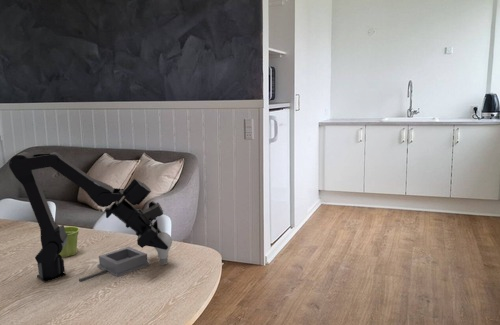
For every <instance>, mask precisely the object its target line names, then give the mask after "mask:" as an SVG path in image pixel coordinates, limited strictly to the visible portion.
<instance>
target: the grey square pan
mask: <svg viewBox="0 0 500 325" xmlns="http://www.w3.org/2000/svg"><path fill="white" fill-rule="evenodd" d="M150 265H151V263H150V262H149V261H148V254H147V253H145V252H142V251H141V250H138V249H135V248H133V247H130V246H126V247H123V248H120V249H116V250H114V251H113V250H112V251H111V252H107V253H104V254H101V255H98V264H97V268H99V269H100V270H101V271H99V272H96V273H92V274H90V275H87V276H84V277H82V278H78V282H80V283H81V282H85V281H87V280H89V279H93V278H95V277H98V276H101V275H103V274H107V273H108V274H109V275H112V276H114V277H116V278H119V277H121V276H124V275H126V274H130V273H133V272H134V271H138V270H140V269H143V268H146V267H148V266H150Z"/></svg>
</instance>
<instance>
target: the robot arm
mask: <svg viewBox="0 0 500 325" xmlns="http://www.w3.org/2000/svg"><path fill="white" fill-rule="evenodd" d="M8 167H9V169H10V171H11V173H12V174H13V176H14V177H15V179H16V180H17V181H18V182H19V183H20V184H21V185H22V186H23V189H24V191H25V193H26V196H27V199H28V201H29V204H30V207H31V210H32V211H33V212H32V213H33V214H34V216H35V218H36V222H37V224H38V226H39V227H38V228H39V230H40V243H41V249H40V250H39V251H38V252H37V254H36V255H35V257H34V259H35V260H36V262H37V271H38V272H37V273H38V274H37V275H36V277H37V278H38V279H39V280H41V281H42V282H44V283H48V282H51V281H54V280H57V279H59V278H63V277H65V276H66V275H67V274H66V273H65V271H66V270H65V260H64V259H63V257H62V256H61V255H59V253H60V252H61V251H62V250H63V248H64V246H65V244H66V242H67V237H68V235H67V234H66V232H65V228H64V227H65V225H64V224H62V225H58V224H57V223H56V221H55V219H54V216H53V213H52V211H51V209H50V206H49V203H48V200H47V198H46V196H45V193H44V190H43V188H42V185H41V182H40V181H39V170H40V169H45V168H52V169H53V170H55V171H56V172H57V173H59V174H61V175H62V176H64V177H65V178H66V179H68V180H69V181H71V182H72V183H73V184H75V185H76V186H78V187H79V188H80V189H82V190H83V191H84V192H85V193H86V194H87V195H88V197H89V198H90V200H92V201H93V202H94V203H95V204H96V205H97V206H99V207H101V208H105V209H104V211H105V218H106V219H108V218H109V217H110V216H111V215H114V217H116V218H117V219H118V220H119V221H121V222H123V223H124V224H125V227H126V229H129V228H130V229H131V230H132V231H134V232H135V235H136V236H137V240H136V241H137V246H139V247H140V248H142V249H143V248H144V247H151V248H154V249H155V248H160V249H164V250H167V249H168V246H167V245H166V244H165V243H164V242H163V241H162V239H161V238H160V237H159V236H158V233H160V232H162V231H161V229H160V228H159V226H158V225H159V224H158V219H157V218H158V217H161V216H163V215H164V210H163V208H162V206H161V205H160V203H159V202H155V201H153V200H151V201H150V202H148V207H146V209H144V210H142V209H141V208H136V207H135V206H137V205H138V206H139V205H140V204H142V202H144V200H145V199H146V198H147V197H148V196H149V195H150V194H151V193H152V190H151V188H150V187H149V186H148V185H146V184H145V183H144V182H142V181H140V180H138V179H137V178H136V177H134V178H132V180H131V181H130V182H129V184H128V185H127V186H126V187H125V188H115V187H113V186H112V185H109V184H107V183H105V182H103V181H100V180H98V179H95V178H93V177H91V176H90V175H89V174H87V173H86V172H84V171H83V170H82V169H80V168H78V167H77V166H76V165H74V164H73V163H72V162H70V161H69V160H68V159H66V158H65V157H63V156H62V155H61V154H60V153H58V152H55V151H54V152H49V153H46V152H45V153H35V154H33V153H30V152H27V151H24V152H21V153H19V154H17V155H14V156H13V157H12V158H10V160H9V162H8ZM109 206H110V207H109ZM153 221H154V222H153Z"/></svg>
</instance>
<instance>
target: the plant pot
mask: <svg viewBox="0 0 500 325" xmlns="http://www.w3.org/2000/svg"><path fill="white" fill-rule="evenodd" d="M64 228H65V232H66V234H67V235H68V237H67V242H66V244H65V246H64V248H63V250H62V251H61V252H60V253H59V255H61V256H62V258H68V257H69V256H74V255H76V254H77V249H78V235H79V232H80V227H78V226H64Z"/></svg>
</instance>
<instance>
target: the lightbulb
mask: <svg viewBox="0 0 500 325" xmlns="http://www.w3.org/2000/svg"><path fill="white" fill-rule="evenodd" d="M158 236H159V237H160V238H161V239H162V241H163V242H164V243H165V244H166V245H167V246H168V249H167V250H164V249H160V248H155V247H154V249H155V251H156V252H157V254H158V255H157V256H158V259H159V264H160V265H162V266H165V265H166V264H168V263H169V262H168V260H169V259H168V258H169V252H170V249H171V247H172V244H173V239H172V236H171V235H170V234H169V233H168V232H165V231H161V232H160V233H158Z"/></svg>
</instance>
